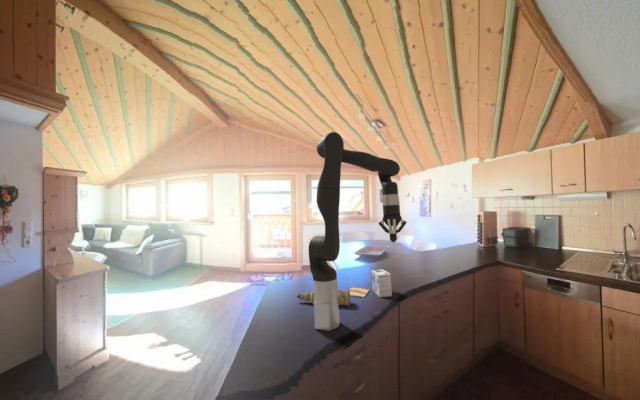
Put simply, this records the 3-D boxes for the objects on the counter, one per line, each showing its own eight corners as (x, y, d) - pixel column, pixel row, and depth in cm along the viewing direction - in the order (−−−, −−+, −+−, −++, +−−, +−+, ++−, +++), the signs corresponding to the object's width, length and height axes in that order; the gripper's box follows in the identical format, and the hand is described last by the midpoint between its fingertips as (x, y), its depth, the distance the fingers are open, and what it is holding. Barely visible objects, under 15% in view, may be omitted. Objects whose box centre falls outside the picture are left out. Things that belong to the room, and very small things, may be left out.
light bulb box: (372, 290, 125) (370, 269, 125) (384, 289, 125) (383, 268, 126) (379, 297, 114) (377, 274, 115) (392, 296, 115) (391, 273, 116)
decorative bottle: (351, 302, 111) (350, 287, 111) (348, 308, 104) (347, 293, 104) (300, 299, 118) (299, 285, 119) (294, 305, 111) (293, 290, 111)
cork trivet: (364, 297, 115) (364, 296, 115) (344, 295, 119) (344, 294, 119) (369, 290, 125) (369, 289, 126) (351, 288, 130) (351, 287, 130)
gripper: (374, 205, 109) (377, 242, 108) (404, 203, 104) (407, 243, 103) (378, 205, 116) (380, 240, 115) (406, 203, 110) (409, 240, 109)
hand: (393, 241), depth 109 cm, fingers closed
